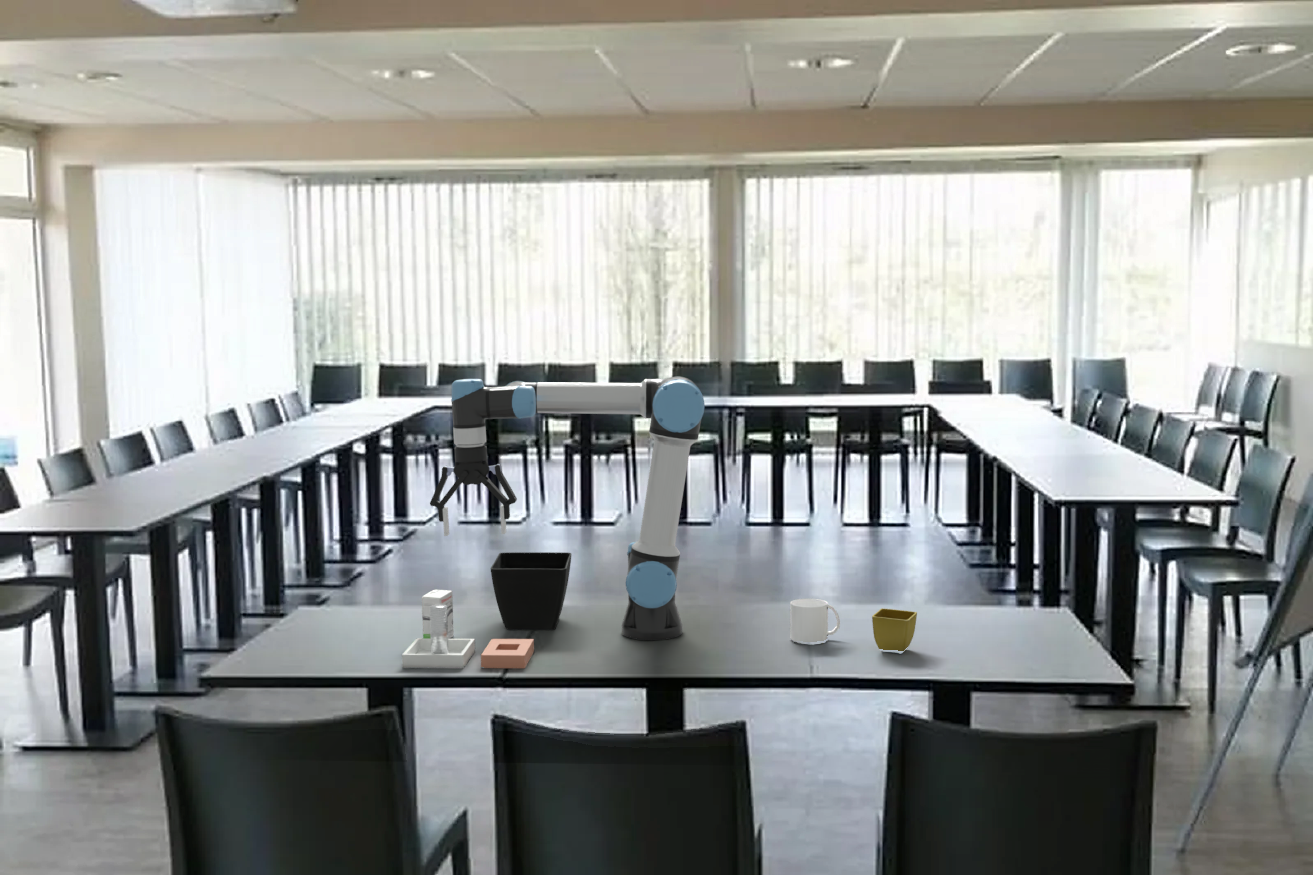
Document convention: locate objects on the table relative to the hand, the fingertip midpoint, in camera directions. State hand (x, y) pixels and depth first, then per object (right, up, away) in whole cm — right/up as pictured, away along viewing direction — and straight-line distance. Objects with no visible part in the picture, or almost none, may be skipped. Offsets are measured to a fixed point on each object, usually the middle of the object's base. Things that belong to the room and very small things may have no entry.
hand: (475, 534), depth 319 cm
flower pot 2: (+99, -28, -2) cm, 103 cm away
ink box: (-11, -27, +12) cm, 31 cm away
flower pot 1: (+11, -25, +26) cm, 38 cm away
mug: (+81, -27, +8) cm, 86 cm away
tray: (-8, -29, -5) cm, 30 cm away
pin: (-8, -28, -6) cm, 30 cm away
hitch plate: (+8, -29, -6) cm, 30 cm away
